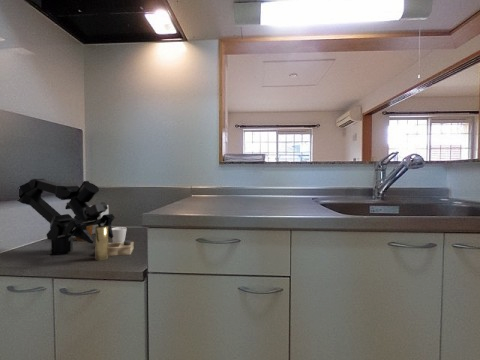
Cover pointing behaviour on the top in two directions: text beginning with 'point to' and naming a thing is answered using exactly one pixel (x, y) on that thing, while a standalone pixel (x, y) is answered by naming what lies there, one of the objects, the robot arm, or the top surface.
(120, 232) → the cup
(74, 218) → the disposable coffee cup
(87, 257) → the top surface
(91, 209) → the robot arm
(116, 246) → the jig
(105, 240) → the tan piece
